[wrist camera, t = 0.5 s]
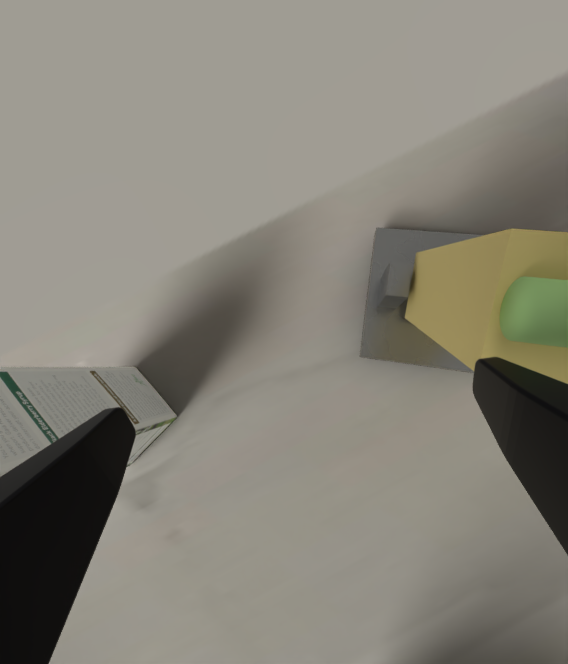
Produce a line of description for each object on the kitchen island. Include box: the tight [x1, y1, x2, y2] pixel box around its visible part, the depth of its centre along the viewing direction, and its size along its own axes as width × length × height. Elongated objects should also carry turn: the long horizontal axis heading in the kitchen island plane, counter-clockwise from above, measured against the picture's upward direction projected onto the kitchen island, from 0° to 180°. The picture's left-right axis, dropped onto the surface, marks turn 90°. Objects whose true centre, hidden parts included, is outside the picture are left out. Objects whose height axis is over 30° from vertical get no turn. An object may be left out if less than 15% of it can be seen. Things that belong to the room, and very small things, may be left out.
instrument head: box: [405, 229, 568, 384], centre depth 13 cm, size 4×4×13 cm
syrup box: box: [0, 367, 177, 477], centre depth 17 cm, size 6×6×14 cm
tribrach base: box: [360, 228, 484, 373], centre depth 20 cm, size 9×9×5 cm
